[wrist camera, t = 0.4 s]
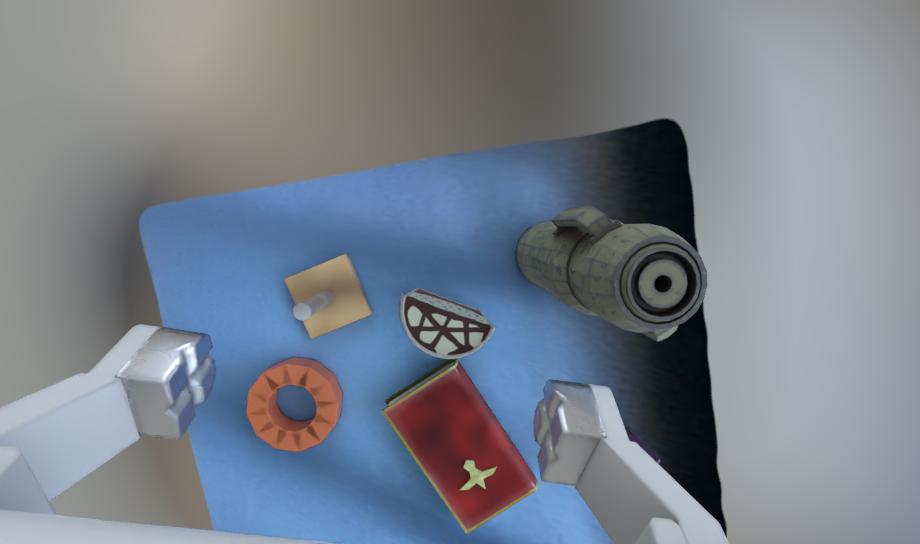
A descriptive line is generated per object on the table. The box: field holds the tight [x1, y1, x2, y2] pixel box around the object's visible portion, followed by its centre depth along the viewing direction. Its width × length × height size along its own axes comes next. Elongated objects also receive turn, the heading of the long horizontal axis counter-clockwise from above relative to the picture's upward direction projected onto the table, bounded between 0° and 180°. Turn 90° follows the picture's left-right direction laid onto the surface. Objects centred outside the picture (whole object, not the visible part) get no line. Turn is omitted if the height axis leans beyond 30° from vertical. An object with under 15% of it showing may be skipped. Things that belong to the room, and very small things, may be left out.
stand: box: [284, 253, 373, 339], centre depth 57 cm, size 9×9×12 cm
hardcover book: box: [382, 358, 538, 534], centre depth 63 cm, size 12×21×4 cm, turn 33°
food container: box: [399, 288, 496, 359], centre depth 59 cm, size 12×6×10 cm, turn 70°
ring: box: [246, 357, 343, 452], centre depth 63 cm, size 12×12×3 cm
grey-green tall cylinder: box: [515, 205, 707, 342], centre depth 46 cm, size 9×12×35 cm
